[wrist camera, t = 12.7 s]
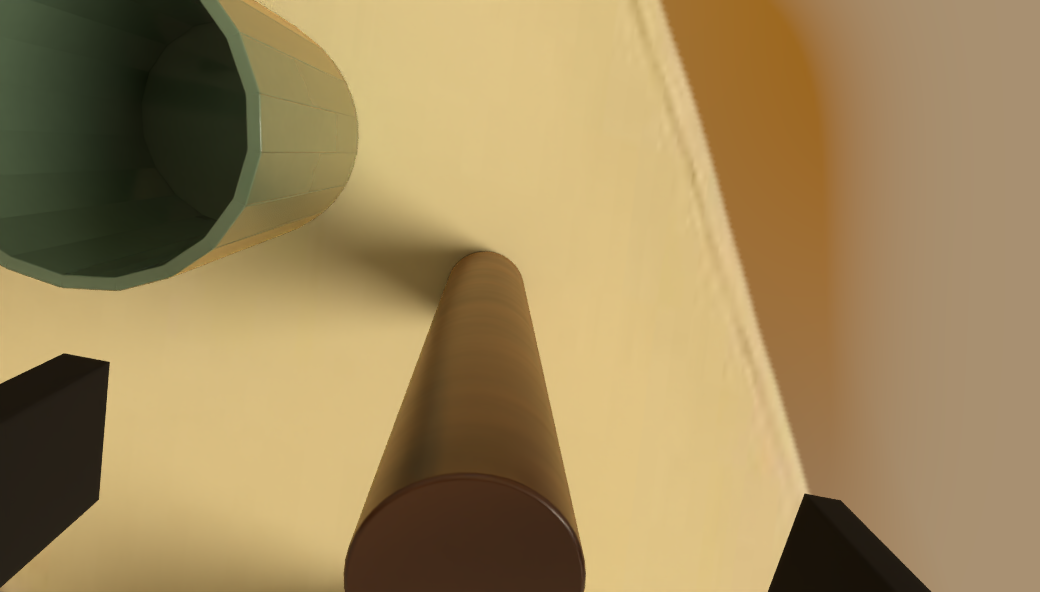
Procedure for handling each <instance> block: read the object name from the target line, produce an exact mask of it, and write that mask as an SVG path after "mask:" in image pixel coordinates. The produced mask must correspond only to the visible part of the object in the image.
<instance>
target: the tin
mask: <svg viewBox="0 0 1040 592" xmlns="http://www.w3.org/2000/svg"><path fill="white" fill-rule="evenodd" d="M357 147H358V121H357V115H356V109H355V106H354V102H353V99H352V95H351V93H350V91H349V88H348V86H347V84H346V81H345V80H344V78H343V76H342V74H341V73H340V71H339V69H338V68H337V66H336V65H335V64H334V62H333V61H332V60H331V58H330V57H329V56H328V55H327V53H326V52H325V51H324V50H323V49H322V48H321V47H320V46H319V45H318V44H317V43H315V42H314V41H313V40H312V39H311V38H309V37H308V36H307V35H306V34H304V33H303V32H302V31H301V30H299V29H298V28H297V27H296V26H294V25H293V24H291V23H289V22H288V21H286V20H285V19H283V18H282V17H280V16H278V15H277V14H275V13H274V12H272V11H271V10H269V9H267V8H266V7H264V6H263V5H261V4H259V3H258V2H256V1H255V0H0V265H1V266H3V267H6V269H9V270H12V271H15V272H18V273H20V274H23V275H26V276H29V277H32V278H35V279H38V280H40V281H43V282H46V283H49V284H52V285H55V286H58V287H62V288H71V289H89V290H107V291H121V290H125V289H129V288H133V287H137V286H141V285H145V284H149V283H153V282H156V281H160V280H164V279H168V278H171V277H174V276H176V275H179V274H182V273H184V272H187V271H189V270H192V269H194V268H197V267H200V266H202V265H205V264H207V263H210V262H213V261H215V260H218V259H220V258H223V257H226V256H228V255H231V254H233V253H236V252H239V251H241V250H244V249H246V248H249V247H252V246H254V245H257V244H259V243H262V242H265V241H267V240H270V239H272V238H275V237H278V236H280V235H283V234H285V233H288V232H291V231H293V230H296V229H298V228H300V227H301V226H303V225H305V224H306V223H308V222H310V221H311V220H313V219H315V218H316V217H318V216H319V215H320V214H322V213H323V212H324V211H325V210H326V209H327V208H328V207H329V206H330V205H331V204H332V203H333V202H334V201H335V200H336V199H337V197H338V196H339V195H340V193H341V192H342V191H343V189H344V187H345V185H346V183H347V181H348V180H349V177H350V175H351V172H352V169H353V167H354V163H355V159H356V155H357Z"/></svg>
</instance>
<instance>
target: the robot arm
mask: <svg viewBox="0 0 1040 592" xmlns="http://www.w3.org/2000/svg"><path fill="white" fill-rule="evenodd" d="M109 364H110V362H106V361H101V360H96V359H91V358H85V357H80V356H75V355H69V354H62V355H60V356H57V357H55V358H53V359H51V360H49V361H47V362H45V363H43V364H41V365H39V366H37V367H35V368H32V369H30V370H28V371H26V372H24V373H22V374H20V375H18V376H16V377H14V378H12V379H10V380H7V381H5V382H3V383H1V384H0V588H1V587H2V586H3V585H4V584H5V583H6V582H7V581H8V580H9V579H11V578H12V577H13V576H14V575H15V574H16V573H17V572H18V571H20V570H21V569H22V568H23V567H24V566H25V565H26V564H27V563H28V562H30V561H31V560H32V559H33V558H34V557H35V556H36V555H37V554H39V553H40V552H41V551H42V550H43V549H44V548H45V547H46V546H47V545H49V544H50V543H51V542H52V541H53V540H54V539H55V538H56V537H58V536H59V535H60V534H61V533H62V532H63V531H64V530H65V529H66V528H68V527H69V526H70V525H71V524H72V523H73V522H74V521H75V520H77V519H78V518H79V517H80V516H81V515H82V514H83V513H84V512H85V511H87V510H88V509H89V508H90V507H91V506H92V505H93V504H94V503H96V502H97V501H98V500H99V490H100V477H101V465H102V452H103V439H104V427H105V414H106V402H107V389H108V376H109ZM768 592H931V591H930V590H929V589H928V588H927V587H926V586H925V585H924V584H923V583H922V582H921V581H920V580H919V579H918V578H917V577H916V576H915V575H914V574H913V573H912V572H911V571H910V570H909V569H908V568H907V567H906V566H905V565H904V564H903V563H902V562H901V561H900V560H899V559H898V558H897V557H896V556H895V555H894V554H893V553H892V552H891V551H890V550H889V549H888V548H887V547H886V546H885V545H884V544H883V543H882V542H881V541H880V540H879V539H878V538H877V537H876V536H875V535H874V534H873V533H872V532H871V531H870V530H869V529H868V528H867V527H866V525H864V523H863V522H862V521H861V520H860V519H859V518H858V517H857V516H856V515H855V514H854V513H853V512H851V510H850V509H849V508H848V507H847V506H846V505H845V504H844V503H843V502H842V501H841V500H836V499H830V498H825V497H819V496H814V495H809V494H804V497H803V500H802V502H801V505H800V507H799V510H798V513H797V515H796V518H795V521H794V523H793V526H792V529H791V531H790V534H789V537H788V539H787V542H786V545H785V547H784V550H783V553H782V555H781V558H780V561H779V563H778V566H777V569H776V571H775V574H774V577H773V579H772V582H771V585H770V587H769V590H768Z"/></svg>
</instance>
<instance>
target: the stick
mask: <svg viewBox="0 0 1040 592" xmlns="http://www.w3.org/2000/svg"><path fill="white" fill-rule="evenodd" d="M585 578H586V571H585V560H584V555H583V551H582V546H581V542H580V537H579V533H578V528H577V524H576V519H575V514H574V510H573V505H572V501H571V496H570V492H569V487H568V483H567V478H566V474H565V469H564V465H563V460H562V456H561V451H560V447H559V442H558V437H557V433H556V428H555V424H554V419H553V415H552V410H551V406H550V401H549V397H548V392H547V388H546V383H545V379H544V374H543V369H542V365H541V360H540V356H539V351H538V347H537V342H536V338H535V333H534V329H533V324H532V320H531V315H530V311H529V306H528V302H527V297H526V292H525V288H524V283H523V279H522V276H521V274H520V272H519V270H518V268H517V267H516V266H515V265H514V264H513V263H512V262H511V261H510V260H509V259H508V258H506V257H504V256H502V255H500V254H497V253H494V252H477V253H473V254H470V255H468V256H466V257H464V258H463V259H462V260H460V261H459V262H458V263H457V264H456V265H455V266H454V268H453V269H452V271H451V273H450V275H449V278H448V280H447V283H446V286H445V288H444V291H443V294H442V296H441V299H440V302H439V305H438V307H437V310H436V313H435V315H434V318H433V321H432V324H431V326H430V329H429V332H428V334H427V337H426V340H425V342H424V345H423V348H422V351H421V353H420V356H419V359H418V361H417V364H416V367H415V369H414V372H413V375H412V378H411V380H410V383H409V386H408V388H407V391H406V394H405V396H404V399H403V402H402V405H401V407H400V410H399V413H398V415H397V418H396V421H395V423H394V426H393V429H392V432H391V434H390V437H389V440H388V442H387V445H386V448H385V450H384V453H383V456H382V459H381V461H380V464H379V467H378V469H377V472H376V475H375V477H374V480H373V483H372V486H371V488H370V491H369V494H368V496H367V499H366V502H365V504H364V507H363V510H362V513H361V515H360V518H359V521H358V523H357V526H356V529H355V531H354V534H353V537H352V540H351V542H350V545H349V548H348V552H347V555H346V559H345V567H344V589H345V592H584V589H585Z"/></svg>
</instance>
